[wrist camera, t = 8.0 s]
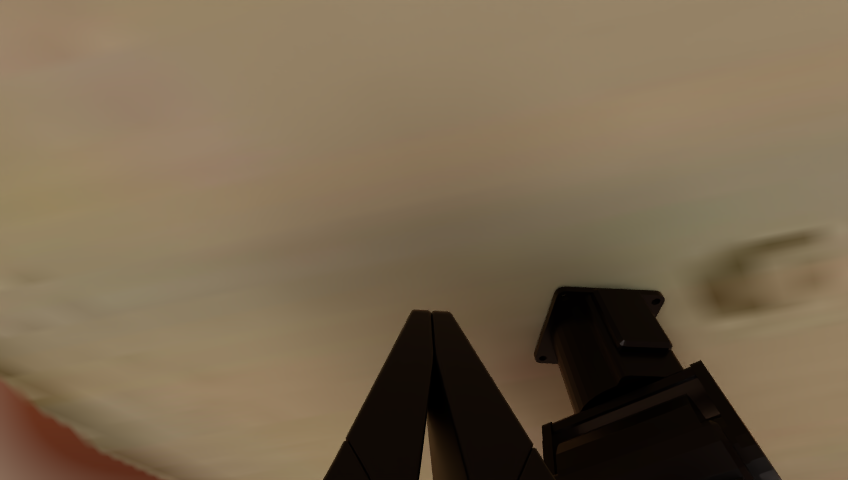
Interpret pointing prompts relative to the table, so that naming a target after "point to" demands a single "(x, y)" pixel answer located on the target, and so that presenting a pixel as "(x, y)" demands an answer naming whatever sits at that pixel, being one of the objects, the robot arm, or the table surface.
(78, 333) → the table surface
